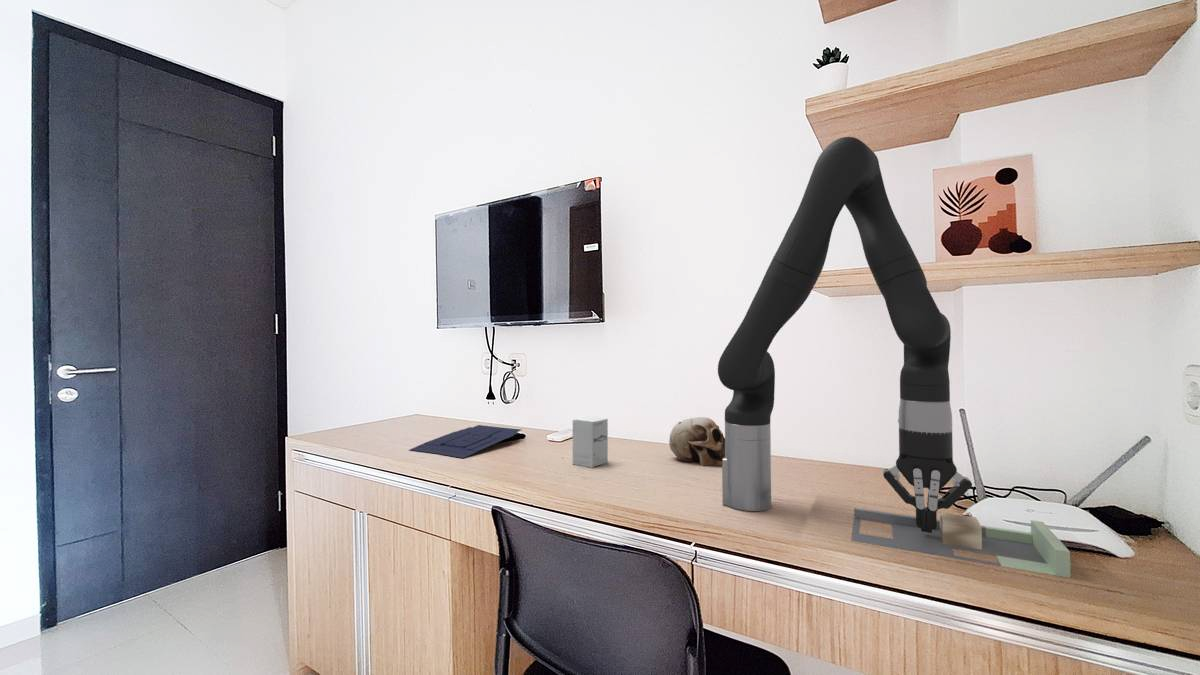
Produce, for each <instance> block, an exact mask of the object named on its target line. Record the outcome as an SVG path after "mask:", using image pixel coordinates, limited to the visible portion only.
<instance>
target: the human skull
mask: <svg viewBox="0 0 1200 675" xmlns="http://www.w3.org/2000/svg"><path fill="white" fill-rule="evenodd" d="M668 441H669V442H668V443H669V448H670V451H671V452H672V453H673V454H674V456H675V457H676V458H677V459H678V460H681V461H682V462H686V463H688V462H690V463H692V462H694V463H696V462H699V465H700V466H711V467H722V460H723V458H725V435H724V434H723V431H722V430H721V429H720V426H719V425H717V423H716V422H715V421H714V420H713V419H711V418H709V417H702V416H701V417H690V418H686V419H684V420H683V419H682V420H681V421H678V422H677V423H676V424H675V425H674V426H673V427H672V429H671V431H670V434H669V440H668Z"/></svg>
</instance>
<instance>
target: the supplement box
mask: <svg viewBox="0 0 1200 675" xmlns="http://www.w3.org/2000/svg"><path fill="white" fill-rule="evenodd" d="M608 424H609V423H608V418H605V417H596V416H586V417H581V418H576V419H573V420H572V464H573V465H575V466H580V467H586V468H591V469H592V468H595V467H598V466H600V465H603V464H604V465H605V464H608V456H609V455H608V453H609V451H608V450H609V449H608V448H609V447H608V446H609V444H608V440H609V439H608V438H609V437H608V435H609V433H608V427H609V426H608Z"/></svg>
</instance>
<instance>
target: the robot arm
mask: <svg viewBox="0 0 1200 675" xmlns="http://www.w3.org/2000/svg"><path fill="white" fill-rule="evenodd" d="M884 183H885V182H884V180H883V176H882V171H881V167H880V162H879V159H878V156H877V154H876V153H875V152H874V151H873V150H872V149H871V148H870V147H869V146H868V145H867V144H866V143H865V142H864V141H863V140H861V139H860V138H856V137H854V136H842V137H840V138H837V139H835V140H834V141H832V142H830V143H829V144H828V145H827V146H826V147H825V148H824V149H823V150H822V152H821V153H820V154H819V156H818V158H817V160H816V162H815V163H814V166H813V169H812V172H811V174H810V178H809V181H808V182H807V185H806V187H805V190H804V193H803V197H802V199H801V201H800V203H799V205H798V208H797V210H796V212H795V214H794V217H793V219H792V220H791V222H790V224H789V226H788V227H787V230H786V232H785V234H784V236H783V237H782V239H781V243H779V246H778V248H777V250H776V252H775V254H774V255H773V257H772V259H771V262H770V263H769V266H768V267H767V268H766V271H765V274H764V276H763V278H762V280H761V283H760V284H759V286H758V288H757V291H756V293H755V295H754V297H753V299H752V301H751V303H750V305H749V307H748V309H747V311H746V313H745V315H744V317H743V319H742V321H741V323H740V324H739V326H738V328H736V331H735V333H734V334H733V336H732V337H731V339H730V341H729V342H728V343H727V345H726V347H725V348H724V350H723V351H722V353H721V356H720V357H719V360H718V364H717V376H718V378H719V381H720V382H721V385H723V386H724V387H725V388H726V389H729V390H731V391H733V393H732V394H733V395H732V398H731V401H730V402H729V404H728V405H727V406H726V408H725V409H724V438H725V458H723V460H722V466H721V470H722V471H721V472H722V474H721V475H722V476H721V477H722V478H721V479H722V487H721V489H722V505H723V506H728V507H731V508H733V509H736V510H740V511H746V512H747V511H748V512H760V511H766V510H769V509H770V508H772V456H771V455H772V454H771V453H772V451H771V449H772V448H771V447H772V446H771V441H772V440H771V436H772V434H771V417H772V412H773V409H774V407H775V405H774V404H775V385H776V384H775V383H776V382H775V381H776V369H775V364H774V360H773V358H772V357H773V356H772V355H771V354H770V353H769V352H768V350H769V348H770V346H771V344H772V342H773V340H774V338H775V337H776V336H777V334H778V333H779V332H780V330H782V328H783V327H784V326H785V325H786V324H787V323H788V321H790V320H791V318H792V317H794V315H795V314H796V313H797V312H798V311H799V310H800V309H801V307H802V306H803V305H804V303H806V301H807V299H808V298H809V296H810V295H811V293H812V291H813V289H814V287H815V285H816V283H817V281H818V279H819V277H820V275H821V273H822V271H823V269H824V266H825V263H826V260H827V257H828V256H827V255H828V251H829V247H830V241H831V236H832V233H833V230H834V227H835V223H836V221H837V219H838V217H839V215H840V213H841V211H842V209H843V208H844V206H845V207H846V209H847V210H848V212H849V213H850V215H851V217H852V219H853V222H854V223H855V225H856V228H857V230H858V234H859V237H860V241H861V245H862V249H863V253H864V256H865V260H866V263H867V265H868V268H869V269H870V272H871V275H872V277H873V279H874V280H875V283H876V286H877V288H878V290H879V291H880V293H881V296H882V297H883V299H884V301H885V306H886V308H887V312H888V316H889V319H890V321H891V324H892V326H893V329H894V331H895V334H896V335H897V338H898V339H899V340H900V342H902V344H903V366H902V368H901V370H900V374H899V375H900V376H899V396H900V397H899V407H898V419H897V423H898V451H899V452H898V458H897V459H896V461H895V465H894V466H892V467H890V468H885V469H883V479H885V480H886V481H887V483H888V484H889V485H890V487H892V489H893V490H894V491H895V492H896V494H897V495H898V496H899V497H900V499H902V501H903V502H904V503H905V504H907V505H911V506H913V507H914V508H915V516H916V524H917V526H918V527H919V528H921V531H922V532H929V533H932V529H933V530H935V529H936V527H937V520H938V519H937V518H938V514H937V512H938V510H942V509H944V510H947V509H948V510H949V509H950V508H951V507H952V506H953V505H954V504H955V503H956V502H957V501H959V499H960V498H961V497H962V496H964V495H965V494H966V493H967V492H968V491H969V490H970V489H971V488H972V487H973V483H972V481H971V480H970V478H968V477H967V476H964V475H963V474H961V473H960V472H958V469H957V466H956V465H955V462H954V460H953V459H954V455H953V453H954V452H953V449H954V447H953V413H952V408H951V392H950V390H951V389H950V385H951V383H950V382H951V381H950V376H949V375H950V374H949V373H950V372H949V363H950V353H951V338H952V337H951V325H950V321H949V320H948V318H947V316H946V315H944V314H943V313H942V312H941V311H940V309H939V307H938V306H937V304H936V301H935V300H934V298H933V296H932V293H931V292H930V290H929V288H928V286H927V285H928V282H927V278H926V275H925V272H924V271H923V268H922V267H921V264H920V263H919V260H918V259H917V256H916V254H915V252H914V250H913V248H912V247H911V244H910V243H909V240H908V238H907V236H906V235H905V232H904V231H903V229H902V228H901V225H900V223H899V221H898V220H897V217H896V215H895V213H894V211H893V208H892V206H891V203H890V200H889V198H888V194H887V192H886V187H885V184H884ZM899 472H900V473H899ZM900 474H901V475H902V476H903V477H904V479H905V480H906V481H907V482H908V484H909V485H911V486H912V487H913V491H914V495H913V494H910V492H909V491H908V490H907V489H906V487H905V485H904V486H903V484H902V483H901V481H900V480H901V477H900V476H901V475H900ZM952 478H953V480H952V485H953V486H951V488H950V489H949V490H947V491H946V493H944V494H943V495H942V496H941V497H940V498H939V495H940V494H939V493H940V492H939V491H940V489H942V488H944V487H945V486H946V485H947V484H948V483H949V482H950V481H951V479H952ZM924 489H927V501H926V503H925V494H924V493H925V492H924Z"/></svg>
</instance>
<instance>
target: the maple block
mask: <svg viewBox="0 0 1200 675" xmlns="http://www.w3.org/2000/svg"><path fill="white" fill-rule="evenodd" d="M939 520H940V535H941V538H942V542H943V544H949V545H955V546H961V547H967V548H974V549H980V550H982V527H981V526H982V525H981V523H980V522H979V520H978V517H976V516H968V515H962V514H961V515H960V514H955V513H954V514H953V513H948V512H947V513H945V512H939Z"/></svg>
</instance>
